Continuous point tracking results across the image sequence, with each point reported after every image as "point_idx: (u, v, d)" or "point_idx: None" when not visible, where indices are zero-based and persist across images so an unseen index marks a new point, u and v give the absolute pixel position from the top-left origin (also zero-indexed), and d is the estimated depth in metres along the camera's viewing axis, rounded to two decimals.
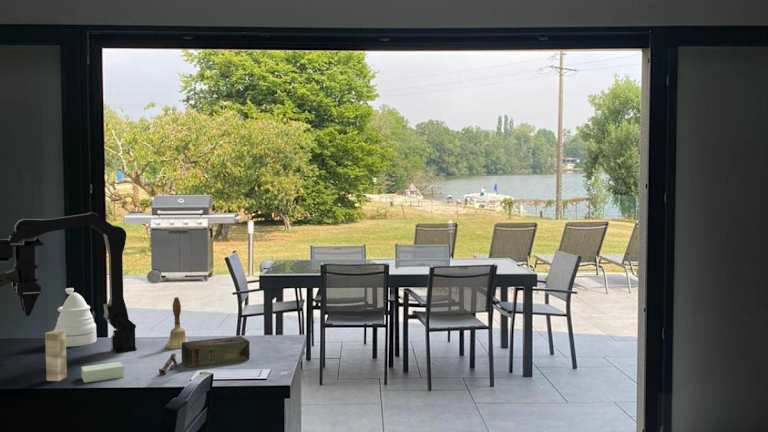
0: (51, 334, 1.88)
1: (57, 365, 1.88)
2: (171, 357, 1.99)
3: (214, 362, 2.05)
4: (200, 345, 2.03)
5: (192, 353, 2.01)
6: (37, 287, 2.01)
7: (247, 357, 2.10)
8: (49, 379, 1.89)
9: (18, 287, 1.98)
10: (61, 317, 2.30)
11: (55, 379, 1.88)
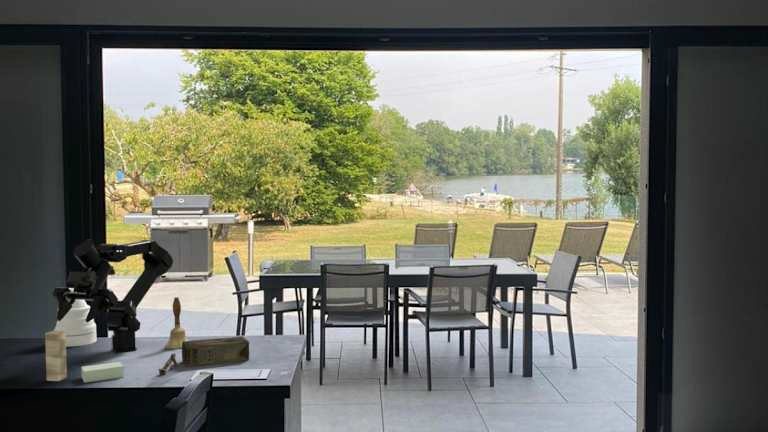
0: (51, 334, 1.88)
1: (57, 365, 1.88)
2: (171, 357, 1.99)
3: (213, 362, 2.05)
4: (199, 345, 2.04)
5: (190, 352, 2.02)
6: (117, 301, 2.05)
7: (247, 358, 2.09)
8: (49, 379, 1.89)
9: (109, 290, 2.02)
10: None
11: (55, 379, 1.88)
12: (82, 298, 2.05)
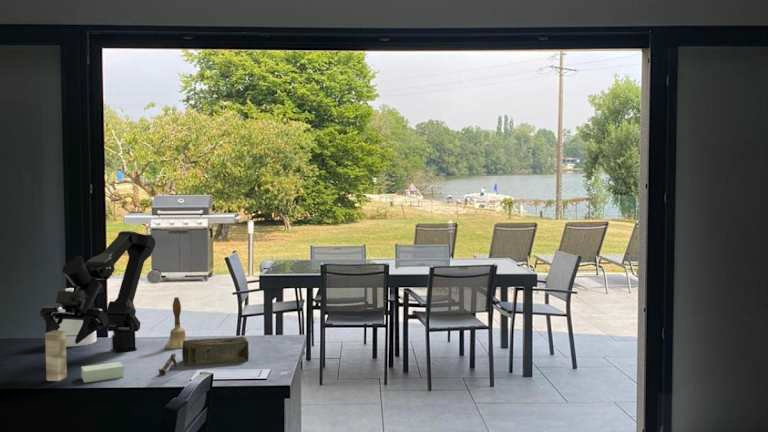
0: (51, 334, 1.88)
1: (57, 365, 1.88)
2: (171, 357, 1.99)
3: (211, 362, 2.05)
4: (197, 344, 2.04)
5: (188, 352, 2.03)
6: (107, 321, 1.98)
7: (246, 358, 2.08)
8: (49, 379, 1.89)
9: (99, 310, 1.94)
10: None
11: (55, 379, 1.88)
12: (70, 318, 1.97)
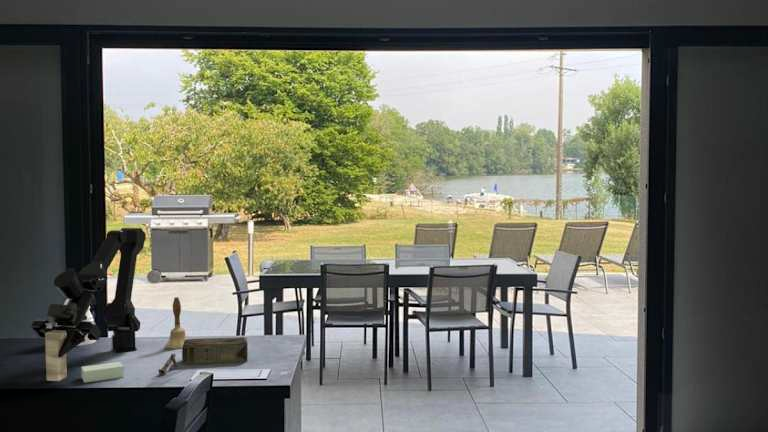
0: (51, 334, 1.88)
1: (57, 365, 1.88)
2: (171, 357, 1.99)
3: (210, 361, 2.05)
4: (196, 343, 2.05)
5: (187, 351, 2.04)
6: (100, 334, 1.94)
7: (245, 359, 2.08)
8: (49, 379, 1.89)
9: (91, 323, 1.91)
10: None
11: (55, 379, 1.88)
12: None
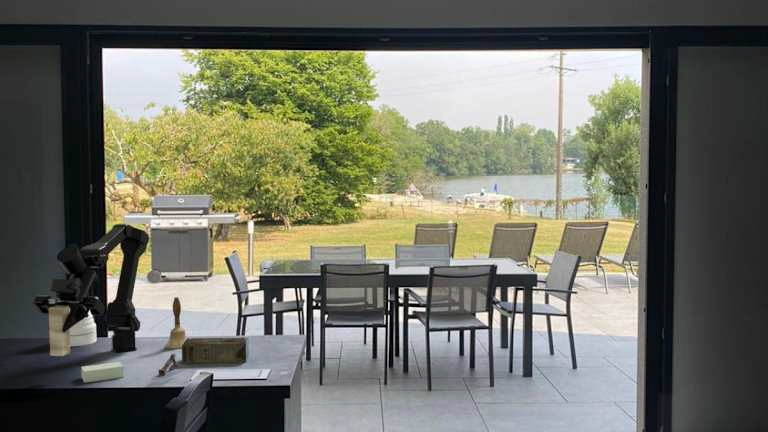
0: (55, 309, 1.87)
1: (61, 340, 1.88)
2: (171, 357, 1.98)
3: (209, 361, 2.06)
4: (196, 343, 2.06)
5: (186, 350, 2.05)
6: (103, 309, 1.94)
7: (244, 359, 2.07)
8: (53, 354, 1.88)
9: (96, 298, 1.91)
10: None
11: (59, 354, 1.88)
12: None
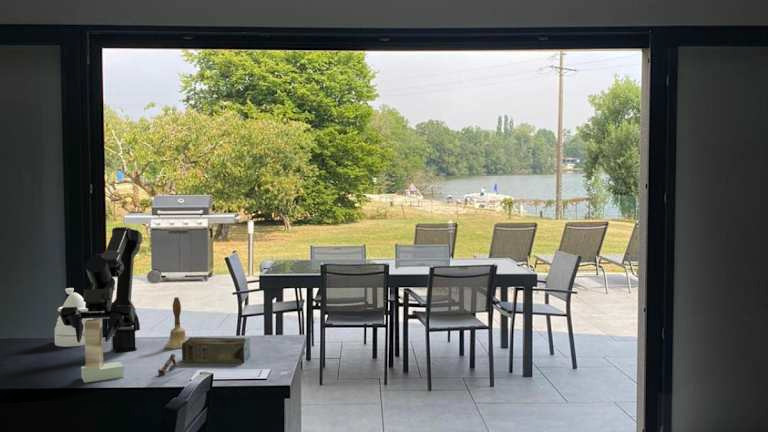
0: (92, 322, 1.88)
1: (98, 353, 1.89)
2: (170, 357, 1.98)
3: (208, 361, 2.06)
4: (196, 342, 2.07)
5: (186, 349, 2.06)
6: (134, 317, 1.97)
7: (242, 360, 2.06)
8: (89, 368, 1.89)
9: (130, 307, 1.94)
10: None
11: (96, 367, 1.89)
12: (95, 317, 1.94)
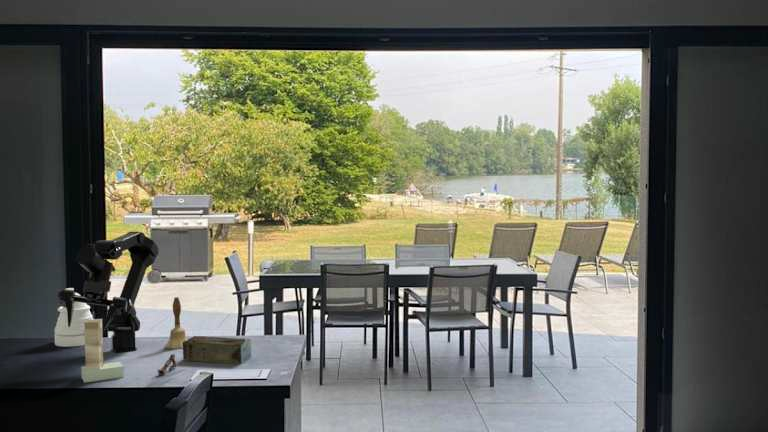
0: (91, 322, 1.88)
1: (98, 353, 1.89)
2: (170, 358, 1.98)
3: (207, 360, 2.07)
4: (196, 341, 2.08)
5: (186, 347, 2.08)
6: (126, 308, 2.08)
7: (239, 361, 2.05)
8: (89, 368, 1.89)
9: (125, 301, 2.04)
10: (61, 317, 2.30)
11: (96, 367, 1.89)
12: (90, 303, 2.03)
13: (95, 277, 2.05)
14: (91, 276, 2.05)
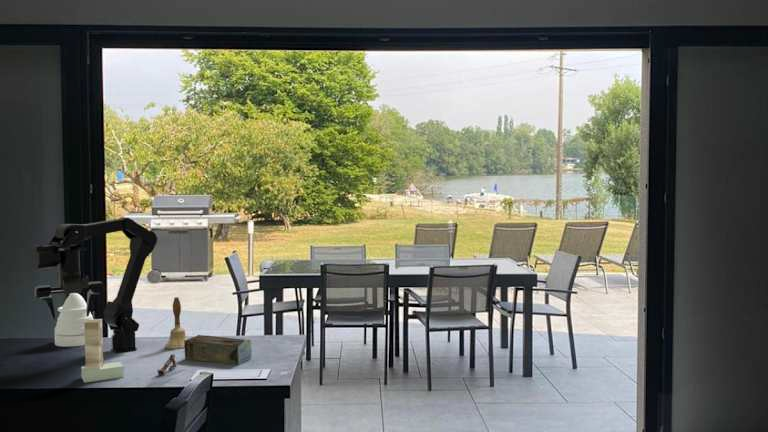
0: (91, 322, 1.88)
1: (98, 353, 1.89)
2: (170, 358, 1.98)
3: (206, 359, 2.08)
4: (197, 340, 2.09)
5: (187, 346, 2.09)
6: None
7: (236, 362, 2.04)
8: (89, 368, 1.89)
9: (103, 286, 2.11)
10: (61, 317, 2.30)
11: (96, 367, 1.89)
12: None
13: (68, 269, 2.06)
14: (63, 268, 2.06)
